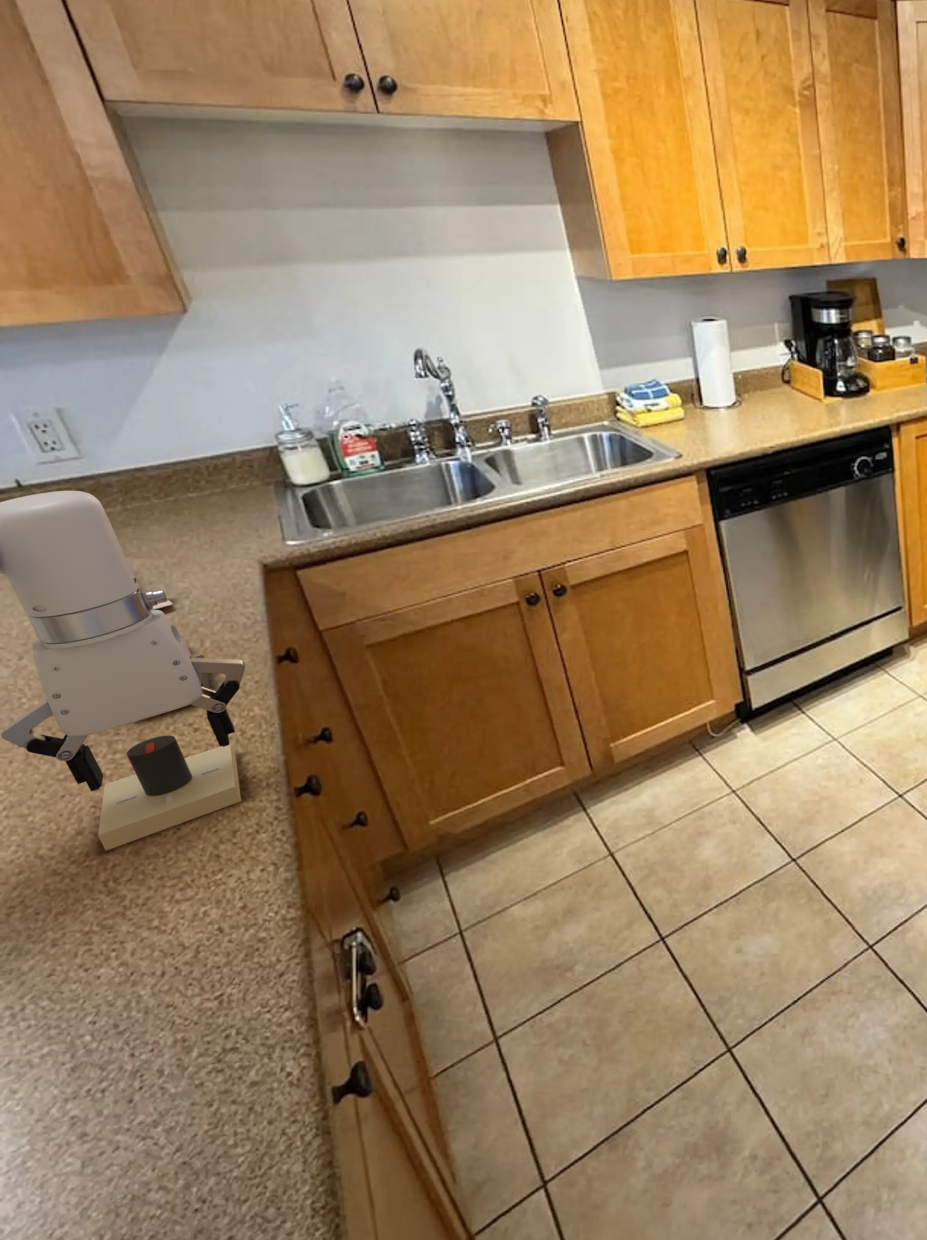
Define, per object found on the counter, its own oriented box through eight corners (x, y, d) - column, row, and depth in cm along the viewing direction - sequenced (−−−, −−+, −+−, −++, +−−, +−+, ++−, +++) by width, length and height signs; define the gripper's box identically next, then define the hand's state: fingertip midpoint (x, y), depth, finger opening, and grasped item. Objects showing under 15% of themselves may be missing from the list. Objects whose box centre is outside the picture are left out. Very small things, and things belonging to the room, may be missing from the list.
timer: (112, 799, 83) (104, 782, 82) (236, 757, 90) (229, 741, 89) (105, 851, 76) (96, 833, 75) (241, 801, 82) (234, 785, 81)
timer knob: (145, 785, 82) (125, 743, 80) (192, 769, 84) (173, 728, 82) (144, 800, 79) (124, 758, 78) (192, 784, 82) (173, 742, 80)
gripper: (211, 579, 83) (267, 713, 89) (-38, 636, 72) (45, 785, 78) (214, 599, 78) (273, 739, 84) (-54, 664, 67) (36, 821, 73)
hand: (163, 761), depth 81 cm, fingers open, 9 cm apart
